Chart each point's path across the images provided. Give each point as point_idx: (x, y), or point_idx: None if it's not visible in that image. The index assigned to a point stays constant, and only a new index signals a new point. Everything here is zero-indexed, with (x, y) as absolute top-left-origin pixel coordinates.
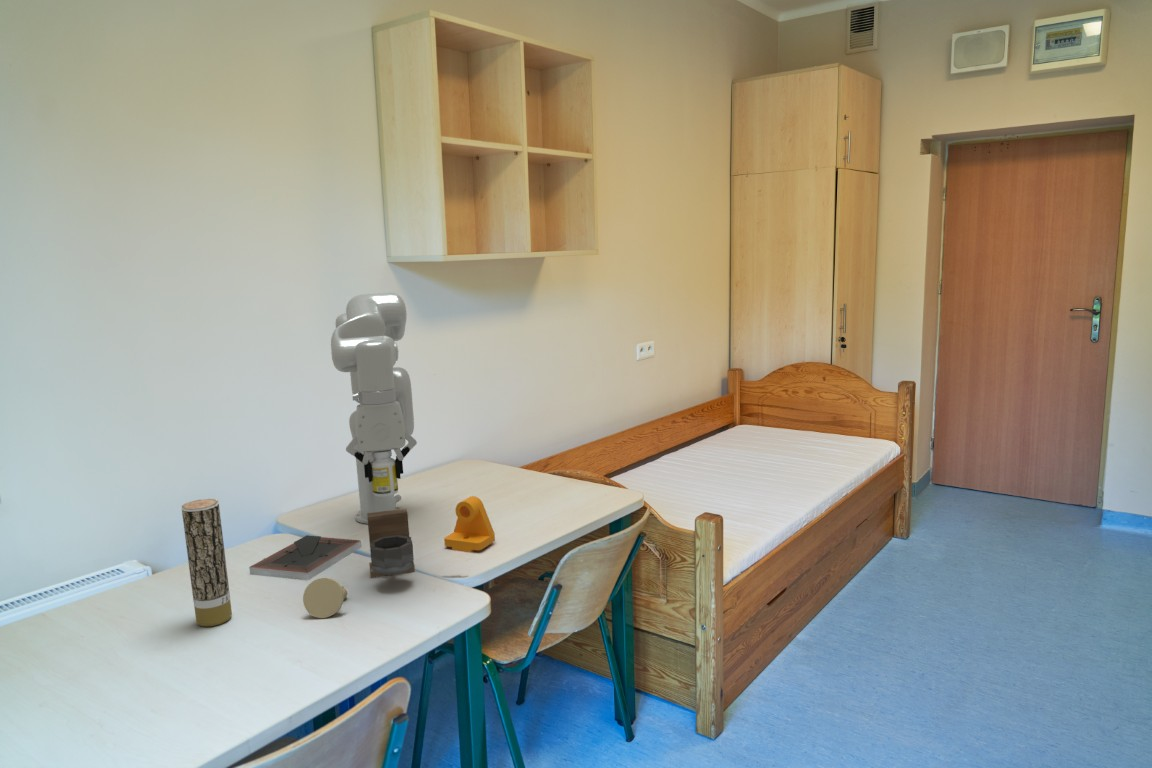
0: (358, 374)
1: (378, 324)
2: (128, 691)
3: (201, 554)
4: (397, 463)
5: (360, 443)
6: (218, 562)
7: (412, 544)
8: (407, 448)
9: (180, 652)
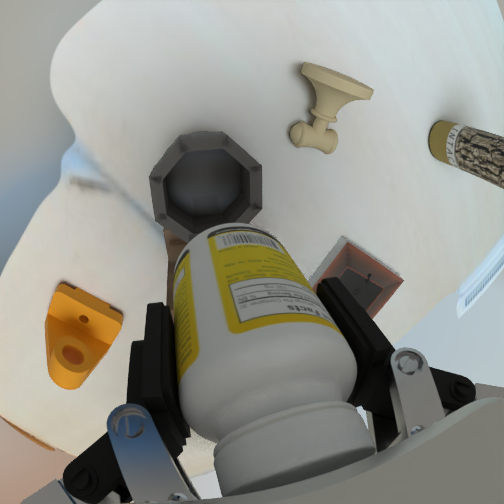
0: None
1: None
2: (471, 23)
3: None
4: (157, 381)
5: None
6: (499, 143)
7: (149, 176)
8: (75, 490)
9: (457, 73)
